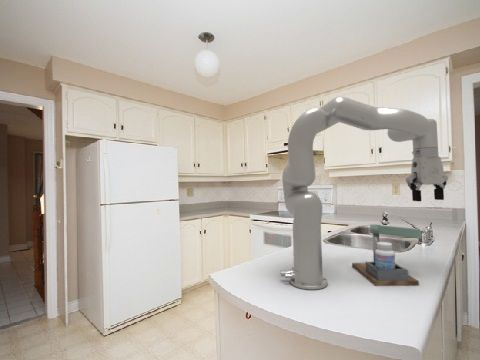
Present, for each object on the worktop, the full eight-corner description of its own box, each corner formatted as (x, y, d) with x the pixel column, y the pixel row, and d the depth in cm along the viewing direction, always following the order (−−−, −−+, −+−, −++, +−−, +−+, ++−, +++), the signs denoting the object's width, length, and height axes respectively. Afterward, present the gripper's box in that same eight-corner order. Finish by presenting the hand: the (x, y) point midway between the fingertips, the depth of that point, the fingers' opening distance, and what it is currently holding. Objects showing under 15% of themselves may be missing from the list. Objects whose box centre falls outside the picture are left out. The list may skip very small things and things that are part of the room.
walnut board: (374, 285, 86) (374, 281, 86) (352, 266, 106) (352, 263, 106) (418, 285, 85) (418, 280, 85) (387, 266, 105) (387, 262, 105)
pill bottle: (373, 276, 90) (372, 243, 90) (377, 271, 95) (376, 240, 95) (394, 280, 86) (392, 246, 86) (397, 275, 91) (395, 242, 91)
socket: (378, 281, 86) (377, 270, 86) (365, 271, 95) (365, 261, 95) (408, 280, 85) (407, 270, 85) (392, 271, 95) (392, 261, 95)
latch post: (375, 265, 102) (374, 234, 102) (372, 263, 104) (371, 233, 105) (381, 265, 102) (380, 234, 102) (378, 263, 104) (377, 232, 105)
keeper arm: (368, 232, 104) (368, 225, 104) (373, 231, 106) (372, 224, 106) (417, 238, 90) (417, 230, 91) (421, 237, 93) (421, 228, 93)
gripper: (414, 152, 90) (417, 202, 90) (455, 152, 93) (457, 199, 93) (397, 155, 97) (399, 201, 97) (435, 154, 101) (438, 198, 100)
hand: (428, 200), depth 95 cm, fingers open, 9 cm apart
